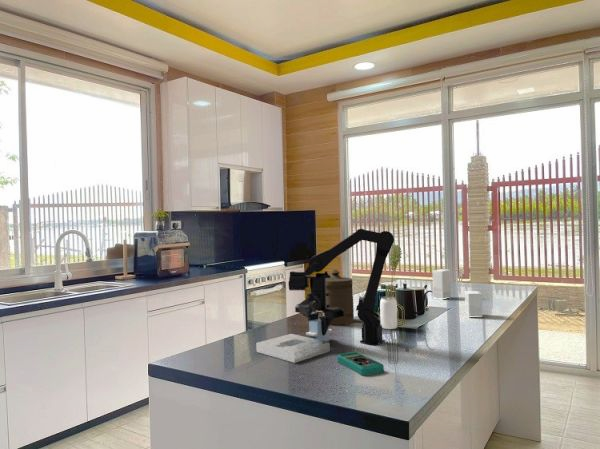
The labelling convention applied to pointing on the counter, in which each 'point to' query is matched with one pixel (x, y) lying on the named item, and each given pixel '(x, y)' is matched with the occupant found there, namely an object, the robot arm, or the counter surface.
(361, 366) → the digital multimeter
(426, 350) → the counter surface
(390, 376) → the counter surface
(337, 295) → the wooden container
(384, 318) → the can
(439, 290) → the skincare box
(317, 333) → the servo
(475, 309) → the small box
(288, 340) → the white flat slab
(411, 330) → the counter surface
